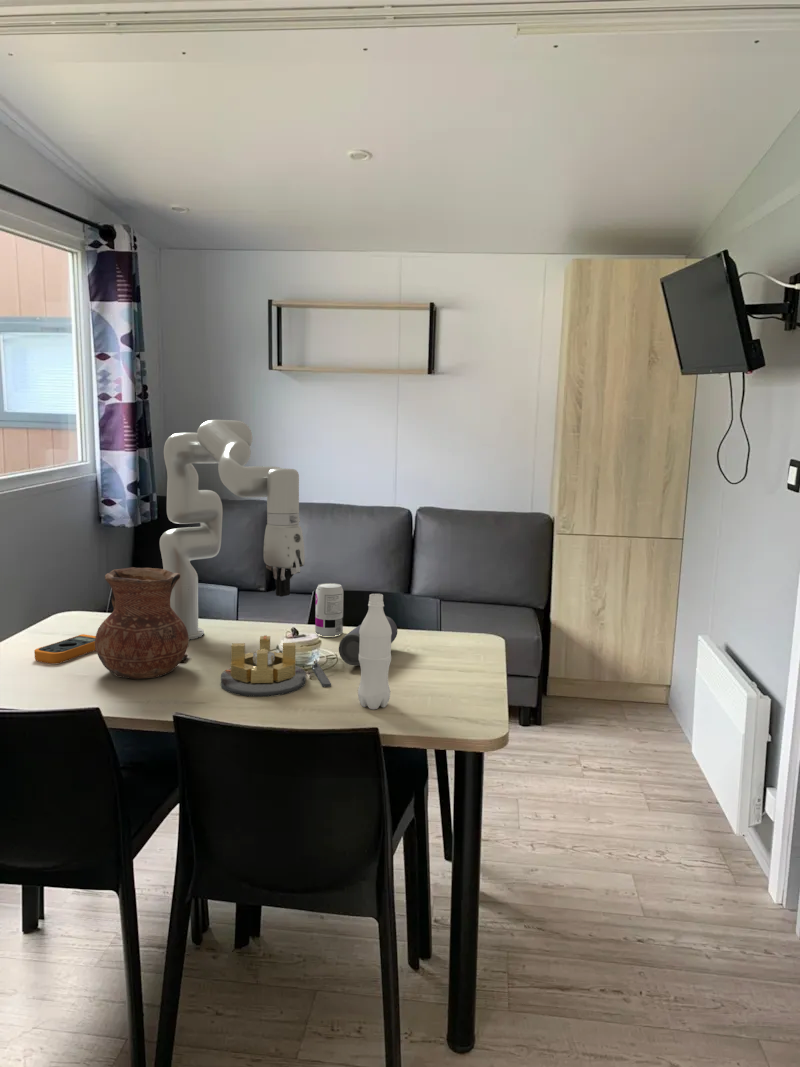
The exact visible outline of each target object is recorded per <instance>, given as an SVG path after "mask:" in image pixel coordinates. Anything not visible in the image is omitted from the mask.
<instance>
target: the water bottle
mask: <svg viewBox="0 0 800 1067" xmlns="http://www.w3.org/2000/svg"><path fill="white" fill-rule="evenodd" d="M368 597H369V598H368V604H367V606H368V610H367V613H366V615H365V616H364V618H363V620H362V622H361V624H360V625H361V626H360V630H359V634H360V642H359V662H360V665H359V666H360V681H359V686H358V689H357V697H358V702H359V704H360V705H361V707H363V708H366V707H368V708H369V709H370V710H377V709H379V707H381V708H386V707H387V705H389V704H388V703H389V701H390V699H391V688H390V684H389V671H390V670H389V669H390V664H391V661H392V654H391V653H392V652H391V649H392V643H391V634H392V630H391V626H390V624H389V622H388V620H387V618H386V616H387V615H386V614H385V611H384V607H385V604H384V595H383V594H382V593H371V594H369V596H368Z"/></svg>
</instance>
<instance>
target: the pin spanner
mask: <svg viewBox="0 0 800 1067" xmlns="http://www.w3.org/2000/svg"><path fill="white" fill-rule="evenodd" d="M313 664H314V665H312V668H311V670H312V671H313V672H312V673H313V674H314V675H315V677H316V678H317V679H318V682H319V683H320V685H321V687H322V688H331V687H332V682H331V681H330V679H329V678H328V676H327V675H326V673H325V672H324V670H323V669H322V667H321V666H320V664H319V663H318V659H316V658H315V659H313Z"/></svg>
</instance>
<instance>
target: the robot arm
mask: <svg viewBox="0 0 800 1067" xmlns="http://www.w3.org/2000/svg"><path fill="white" fill-rule="evenodd" d="M252 442H253V433H252V430H251V428H250V426H249V425H248V424H247V423H246V422H244V421H241V420H234V419H233V420H231V419H229V420H228V419H210V420H206V421H204V422H203V423H201V424H200V425H199V427H198V428H197V430H196V432H176V433H173V434H172V435H170V436H168V438H167V439H166V440H165V442H164V446H163V458H164V464H165V468H166V472H167V480H166V481H167V484H166V515H167V518H168V521H170V522H172V523H173V524H179V525H188V524H189V525H190V524H200V526H192V527H191V526H188V527H177V528H171V529H168V530H166V531H164V532H163V533H162V535H161V536H160V538H159V550H160V554H161V559H162V560H161V561H162V567H163V568H162V569H165V570H168V571H170V572H172V573H179V574H180V575H181V576H180V578H179V579H178V581H177V582H176V584H175V586H174V587H173V589H172V593H171V597H170V606H171V608H172V609H173V611H174V612H175V613H176V614H177V615H178V616H179V618H180V619H181V620H182V621H183V623H184V624H185V626H186V629H187V632H188V637H189V641H190V639H191V640H195V639H194V638H196V639H199V638H202V637H203V636H204V635H203V634H205V633H204V632H205V631H204V629H202V628H201V627H199V576H198V573H197V572H198V571H196V569H195V568H194V566H193V565H192V564H191V561H195V560H205V559H212V558H214V557H217V555H219V552H220V550H221V546H222V532H223V531H222V530H223V511H224V510H223V503H222V499H221V497H220V495H219V494H218V493H217V492H216V491H213V490H210V489H199V474H198V472H197V469H196V468H195V466H194V465H193V464H215V465H216V464H218V465H217V466H218V467H217V468H218V470H217V471H218V476H219V479H220V482H221V483H222V484H223V485H224V487H225V488H227V490H228V491H230V492H231V493H232V494H233V495H235V496H237V497H240V498H243V499H245V498H247V499H248V498H250V499H251V498H266V505H267V506H266V514H267V515H266V517H267V518H266V520H267V521H266V523H267V524H266V525H265V531H264V537H263V538H264V540H263V561H264V562H263V563H265V568H266V570H268V571H271V572H272V574H273V579H274V580H275V596H276V597H287V596H290V594H291V580H292V579H293V576H294V575H296V574H300V573H301V567H304V566H305V556H306V555H305V543H304V542H305V541H304V540H305V539H304V534H303V529H302V526H300V522H301V518H300V475H299V472H298V470H297V469H294V468H283V467H280V466H271V465H270V466H263V465H262V466H261V465H259V466H258V465H257V466H256V465H255V466H253V465H250V466H246V465H247V463H248V462H249V460H250V458H251V446H252ZM202 635H203V636H202ZM198 637H199V638H198Z"/></svg>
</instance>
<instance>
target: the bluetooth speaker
mask: <svg viewBox="0 0 800 1067" xmlns="http://www.w3.org/2000/svg"><path fill="white" fill-rule="evenodd" d="M385 616H386V618H387V620H388V622H389V624H390V626H391V630H392V634H391V644H393V643H394V641H395V640H396V638H397V636H398V627H397V624H396V622H395V621H394V620H393V618H392V617H390V616H387V615H385ZM360 626H361V624H359V625H358V626H356V627H355V628H354V629H352V630H351V631H349V632H348V633H346V635H344V636H343V638H342V639H341V640H340V642H339V645H338V654H339V656H340V658H341V660H342V661H343V662H344V663H346V664H347V665H349V666H355V667H356V666H360V662H359V642H360V634H359V630H360Z"/></svg>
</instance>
